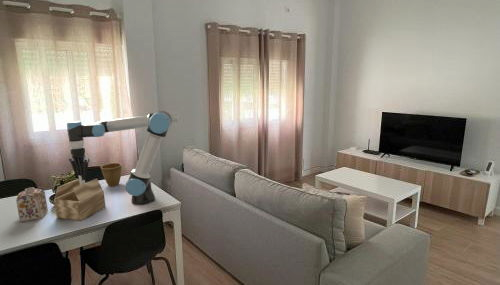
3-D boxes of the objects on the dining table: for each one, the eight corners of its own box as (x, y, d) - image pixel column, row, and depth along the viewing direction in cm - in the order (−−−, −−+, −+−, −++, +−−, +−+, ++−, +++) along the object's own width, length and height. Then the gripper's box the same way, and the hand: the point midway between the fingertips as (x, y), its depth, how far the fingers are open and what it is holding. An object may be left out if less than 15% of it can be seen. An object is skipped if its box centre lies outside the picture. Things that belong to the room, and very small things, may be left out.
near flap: (102, 189, 194) (102, 189, 194) (78, 201, 176) (79, 200, 176) (96, 178, 193) (96, 178, 193) (72, 188, 176) (72, 188, 176)
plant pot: (106, 182, 245) (104, 163, 241) (126, 181, 246) (124, 162, 243) (100, 189, 230) (97, 168, 227) (120, 188, 232) (118, 168, 228)
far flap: (55, 198, 181) (54, 198, 181) (80, 187, 198) (79, 187, 198) (58, 187, 178) (57, 187, 178) (82, 177, 196) (82, 177, 196)
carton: (106, 206, 198) (104, 189, 195) (80, 221, 178) (78, 202, 175) (83, 204, 202) (81, 187, 200) (56, 218, 182) (53, 199, 180)
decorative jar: (41, 219, 182) (37, 190, 178) (19, 221, 179) (13, 193, 175) (48, 211, 193) (44, 184, 189) (27, 213, 190) (22, 186, 186)
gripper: (91, 146, 182) (96, 183, 187) (73, 145, 186) (78, 182, 191) (81, 149, 175) (86, 188, 180) (63, 148, 179) (69, 186, 183)
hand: (82, 185), depth 185 cm, fingers closed
